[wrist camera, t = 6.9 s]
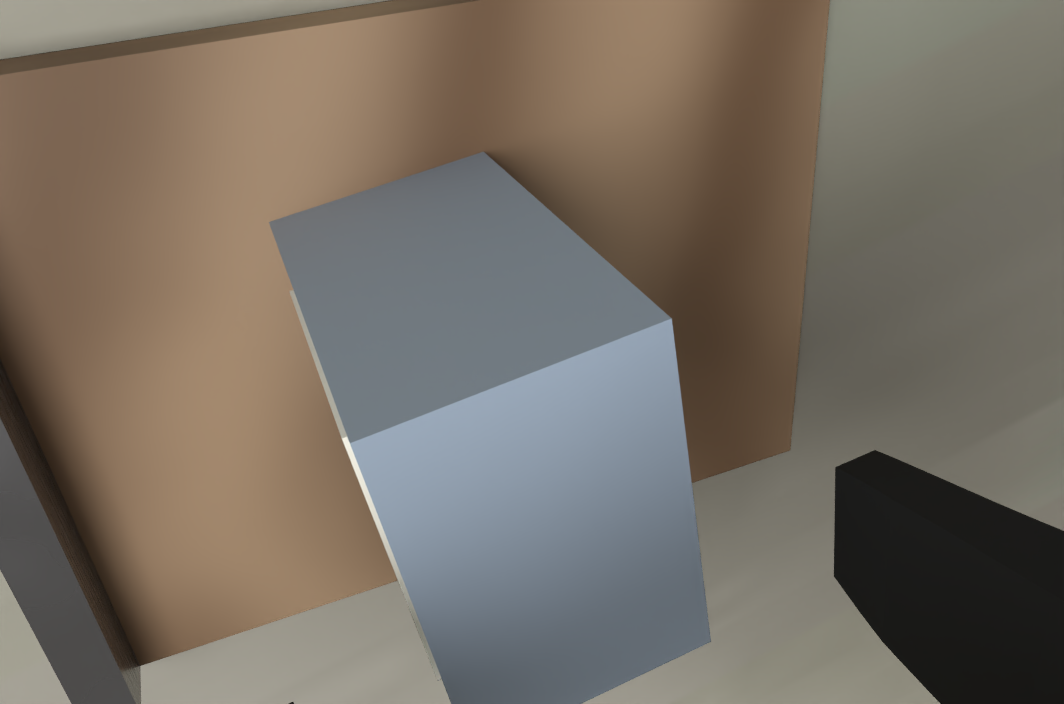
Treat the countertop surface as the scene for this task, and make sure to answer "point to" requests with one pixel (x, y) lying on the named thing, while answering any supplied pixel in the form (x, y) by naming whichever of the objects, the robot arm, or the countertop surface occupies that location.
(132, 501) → the shelf board
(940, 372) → the countertop surface
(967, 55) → the countertop surface
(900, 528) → the robot arm
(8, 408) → the price rail
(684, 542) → the carton
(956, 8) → the countertop surface
